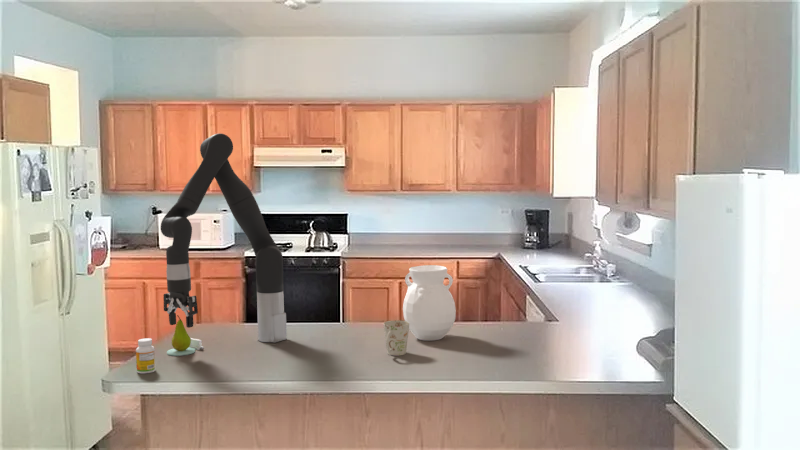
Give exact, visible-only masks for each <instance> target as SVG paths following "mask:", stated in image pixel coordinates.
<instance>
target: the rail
mask: <svg viewBox="0 0 800 450" xmlns="http://www.w3.org/2000/svg"><path fill="white" fill-rule="evenodd" d="M190 338H191V344H190V346H189V348H194V349H195V351H199V350H204V349H205V348H204V347H205V346H203V344H202V343H203V341H202V339H199V338H192V337H190Z"/></svg>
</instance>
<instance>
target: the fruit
mask: <svg viewBox="0 0 800 450" xmlns="http://www.w3.org/2000/svg"><path fill="white" fill-rule="evenodd" d="M176 317H177V318H178V321H176V324H175V329H174V333H173V336H172V338H171V346H172V349H175V350H177V351H185V350H186V349H187V348H188V347H189V346H190V344H191V338H192V337H190V335H189V333H188V332H187V330H186V328H185V326H184V325H185V324H184V323H183V320H182V319H181V317H180V316H179V314H176ZM189 348H190V347H189Z"/></svg>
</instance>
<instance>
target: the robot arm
mask: <svg viewBox="0 0 800 450" xmlns="http://www.w3.org/2000/svg"><path fill="white" fill-rule="evenodd" d="M199 151H200V156H201V158H202V161H201V162H200V165H199V166H198V168H197V170H196V171H195V172H194V173H193V175H192V176H191V177H190V179H189V180H188V182H187V183H186V184H185V186H184V188H183V190H182V191H181V194H180V195H179V197H178V199H177V202H176V203H175V204H174V205H173V206H172V207H171V208H170V209H169V210H168V211H167V213H166V214H165V215H164V217H163V218H162V221H161V223H160V232H161V235H163V236H164V237H166V238H171V239H172V245H169V246H168V247H167V248H166V252H165V253H166V254H165V255H166V271H165V272H166V285H167V286H166V288H167V292H166V293H163V312H166V313H167V314H168V322H169V325H170V326H174V325H175V326H176V325H177V313H176V311H177V309H178V308H179V309H181V311H183V313H184V314H185V324H186V326H185V327H186V328H192V327H194V315H197V314H198V313H199V311H198V301H197V300H198V299H197V295H190V292H191V290H192V279H191V278H192V277H191V267H190V256H189V254H190V253H189V249H190V244H191V239H192V236H193V235H192V234H193V227H192V224H191V220H189V219H188V218H189V217H190V216H193V215H195V214H196V213H197V212H198V210H199V207H200V205H201V204H202V201H203V200H204V198H205V196H206V194H207V193H208V192H207V191H208V190H209V188H210V186H211V184H212V183H213V181H214V180H215V181H216V183H217V185H218V187H219V189H220V191H221V193H222V195H223V197H224V199H225V201H226V204H227V207H228V208H229V210H230V212H231V215H232V216H233V218H234V220H235V221H236V223H237V225H238V226H239V228H240V229H241V230H242V232H244V234H245V236H246V237H247V239H248V241H249V242H250V243H249V244H250V246H251V247H252V249H253V253H254V255H255V280H256V281H255V283H256V302H257V303H256V305H257V307H256V310H257V339H258V340H257V341H259V342H261V343H278V342H281V341H284V340H287V337H288V334H287V313H286V312H285V305H284V304H285V303H284V302H285V301H284V296H285V295H284V263H283V262H284V261H283V260H284V258H283V257H284V256H283V253H282V251H281V250H280V248H279V246H277V244H276V242H275V240H274V239H273V237H272V236H271V234H270V232H269V230H268V228H267V226H266V223H265V220H264V217H263V215H262V212H261V209H260V207H259V204H258V202H257V200H256V198H255V196H254V194H253V193H252V191H251V189H250V188H249V186H248V185H247V184H245V182H244V181H243V180H242V179H241V178H240V177H239V176H238V175H237V174H236V173H235V171H234V170H233V167H232V165H231V164H230V161H229V157H230V156H231V155H232V153H233V151H234V144H233V141H232V138H231V137H229V136H228V135H226V133H225V134H224V133H221V132H220V133H215V134H212V135H211V136H209V137H207V138H206V139H203V141H202V142H201V143H200V146H199Z"/></svg>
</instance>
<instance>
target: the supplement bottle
mask: <svg viewBox="0 0 800 450" xmlns="http://www.w3.org/2000/svg"><path fill="white" fill-rule="evenodd" d="M137 346H138V347H136V349H135V360H136V361H135V362H136V373H138V374H142V375H143V374H151V373H153V372H156V349H155V346H153V339H152V338H151V337H148V338H147V337H145V338H140V339H138V340H137Z"/></svg>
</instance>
